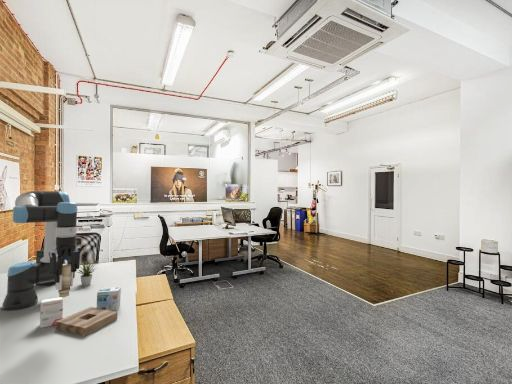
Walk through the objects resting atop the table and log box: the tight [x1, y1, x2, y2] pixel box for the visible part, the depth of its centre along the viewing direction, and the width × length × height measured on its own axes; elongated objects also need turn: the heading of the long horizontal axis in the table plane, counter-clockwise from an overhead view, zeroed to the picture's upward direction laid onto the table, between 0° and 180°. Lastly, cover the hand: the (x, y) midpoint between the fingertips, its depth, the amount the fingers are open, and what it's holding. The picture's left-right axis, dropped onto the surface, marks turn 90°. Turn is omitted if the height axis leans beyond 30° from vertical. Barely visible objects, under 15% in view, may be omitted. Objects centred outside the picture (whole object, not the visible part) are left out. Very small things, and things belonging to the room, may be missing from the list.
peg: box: [57, 264, 71, 298], centre depth 122 cm, size 4×4×14 cm
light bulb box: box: [96, 286, 122, 312], centre depth 149 cm, size 11×7×11 cm, turn 105°
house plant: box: [76, 261, 98, 286], centre depth 189 cm, size 14×14×16 cm
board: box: [55, 306, 118, 337], centre depth 131 cm, size 18×18×4 cm
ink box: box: [39, 297, 64, 329], centre depth 130 cm, size 9×5×12 cm, turn 125°
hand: (64, 287), depth 122 cm, fingers closed on peg, 4 cm apart
